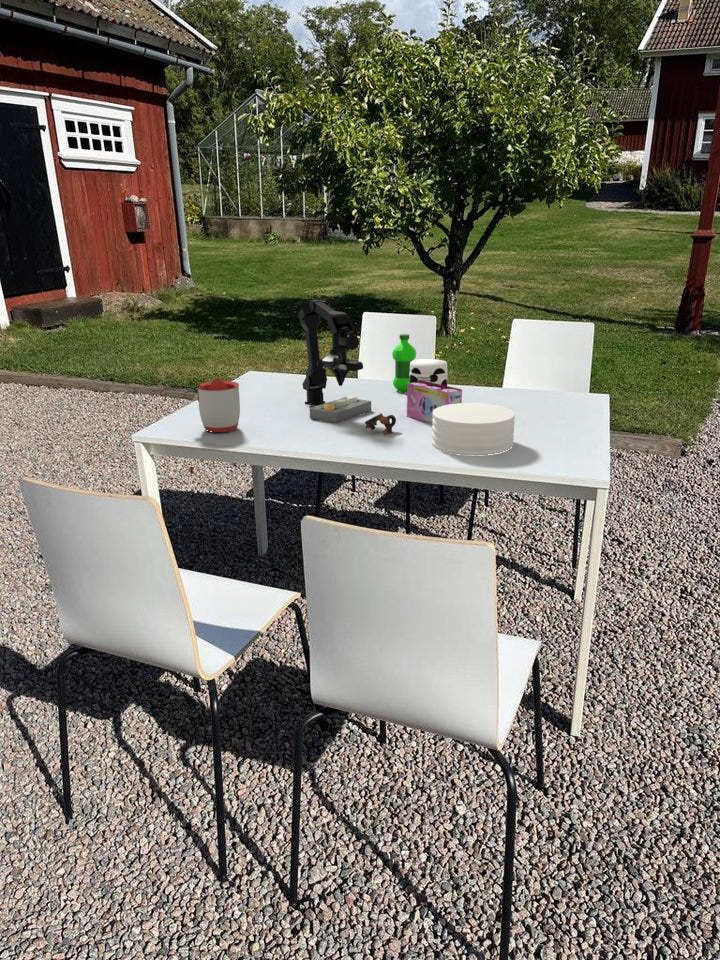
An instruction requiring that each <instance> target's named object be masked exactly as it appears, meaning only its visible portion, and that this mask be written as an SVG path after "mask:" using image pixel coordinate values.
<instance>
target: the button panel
mask: <svg viewBox="0 0 720 960" xmlns="http://www.w3.org/2000/svg"><path fill="white" fill-rule="evenodd" d="M347 397H348V396H344V397H342V398H338V399H335V400H332V401H328V402H324V403H321V404H318V405H315V406H313V407H310V408H309V419H310V418H312V419H311V420H316V419H317V420H316V421H321V420H322V422H326V423H327V422H328V423H334V424H339V423H341V422H344V421H346V420H349V419H352V418H355V417H358V416H361V415H363V413H364V414H366V413H369V412H372V400H366V399H361V398H357V402H355V403H350V402H347ZM336 400H346V406H344V407H339V406H336ZM324 404H334V405H335V410H332V411H328V410H324ZM360 414H361V415H360Z"/></svg>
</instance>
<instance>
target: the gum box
mask: <svg viewBox="0 0 720 960" xmlns="http://www.w3.org/2000/svg"><path fill="white" fill-rule="evenodd" d="M406 395H407V396H406V397H407V398H406V399H407V400H406V417H409V418H413V419H415V420H420V421H422V422H426V423H430V424H432V419H433V416H432V412H433V410H434V409H436V408H438V407H441V406H444V405H449V404H458V403H462V401H463V389H461V388H458V387H453V386H449V385H448V386H444V385H440V384H436V383H431V382H427V381H422V380H418V381H417V383H408V386H407V392H406Z"/></svg>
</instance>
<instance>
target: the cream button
mask: <svg viewBox="0 0 720 960" xmlns="http://www.w3.org/2000/svg"><path fill="white" fill-rule="evenodd" d="M346 397H347V402H350V403H355V402H357V399H358V396H354V395H351V396H350V395H349V396H346Z"/></svg>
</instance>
